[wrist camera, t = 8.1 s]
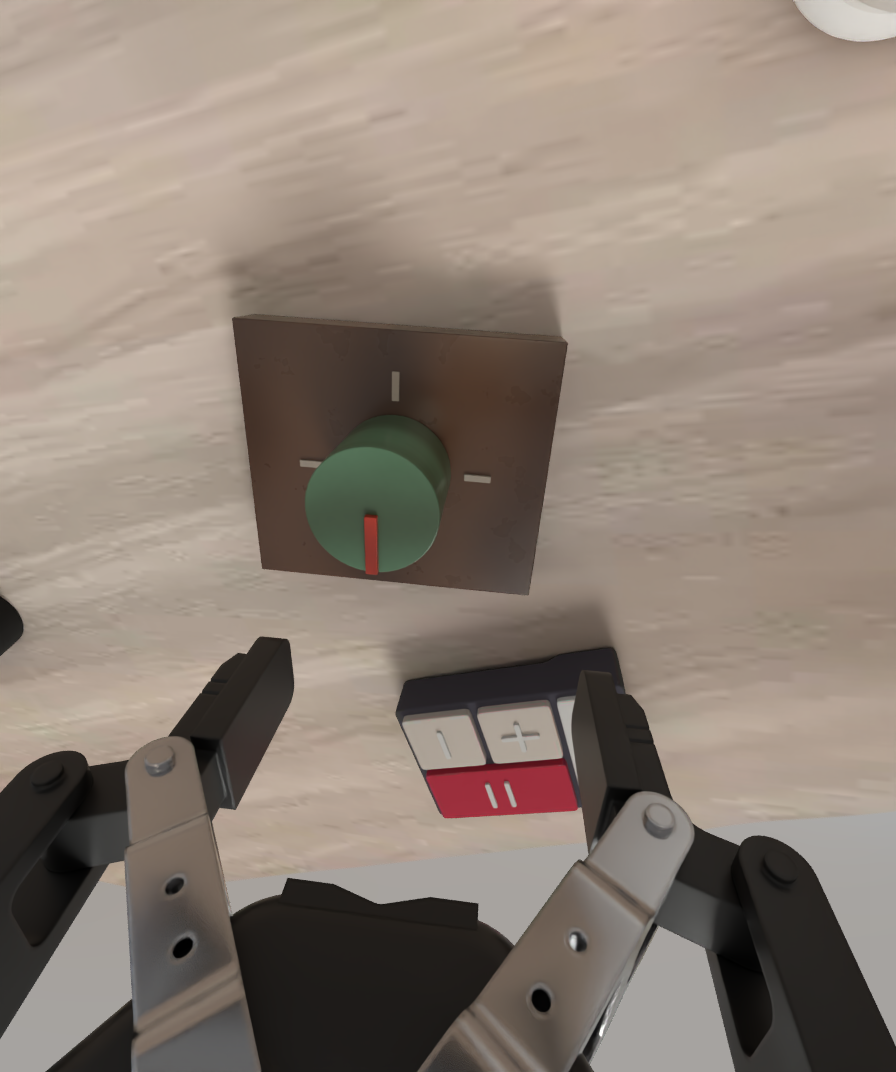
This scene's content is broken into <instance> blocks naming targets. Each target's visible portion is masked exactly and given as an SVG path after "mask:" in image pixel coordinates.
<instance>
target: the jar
mask: <svg viewBox="0 0 896 1072" xmlns="http://www.w3.org/2000/svg"><path fill="white" fill-rule="evenodd" d="M793 1H794V3H795V5H796V6H797V8H798V9H799V11H800V12H801V13H802V14H803V16H804V17H805V18H806V19H807V20H808V21H809V22H810V23H812V24H813V25H814V26H815V27H817V28H818V29H820V30H821V31H823V32H825V33H827V34H829V35H831V36H833V37H836V38H840V39H844V40H849V41H858V42H867V41H878V40H884V39H888V38H892V37H896V0H793Z"/></svg>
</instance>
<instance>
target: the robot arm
mask: <svg viewBox="0 0 896 1072" xmlns="http://www.w3.org/2000/svg"><path fill="white" fill-rule="evenodd" d="M293 691H294V676H293V667H292V658H291V649H290V643H289V641H288V640H287V639H281V638H271V637H259V638H258V639H257V640H256V641H255V643H254V644H253V646H252V647H251V648H250V650H249V651H248V653H247V654H242V653H237V654H236V655H235V656H233V657H232V658H230V659H229V660H228V661H226V662H225V663H223V664H222V665H221V666H220V667H219V669H218V670H217V671H216V673H215V674H214V676H213V677H212V678H211V681H210V682H208V684H207V685H206V686H205V688H204V689H203V690H202V694H201V693H200V694H199V696H198V697H197V698H196V700H195V701H194V702H193V704H192V705H191V706H190V708H189V709H188V710H187V712H186V713H185V714H184V716H183V717H182V718H181V720H180V721H179V722H178V724H177V725H176V726H175V728H174V729H173V730H172V732H171V733H170V734H169V736H168V737H164V738H160V739H157V740H154V741H152V742H150V743H148V744H146V745H145V746H143V747H141V748H140V749H139V750H138V751H136V752H135V753H134V755H133V756H132V757H131V758H130V759H129V760H126V761H121V762H114V763H108V764H101V765H95V766H88V763H87V760H86V758H85V757H84V755H82V754H81V753H79V752H76V751H60V752H56V753H52V754H49V755H46V756H44V757H42V758H39V759H38V760H36V761H34V762H32V763H31V764H29V765H28V766H26V767H25V768H24V769H23V770H21V771H20V772H19V773H18V774H17V775H16V776H15V778H14V779H13V780H12V781H11V782H10V783H9V784H8V785H7V786H6V787H5V788H4V789H3V791H2V792H1V793H0V1038H1V1037H2V1035H3V1033H4V1032H5V1030H6V1029H7V1027H8V1026H9V1024H10V1022H11V1021H12V1019H13V1018H14V1016H15V1014H16V1012H17V1011H18V1009H19V1008H20V1006H21V1005H22V1003H23V1001H24V1000H25V998H26V997H27V995H28V993H29V992H30V990H31V989H32V987H33V985H34V984H35V982H36V981H37V979H38V977H39V976H40V974H41V972H42V971H43V969H44V968H45V966H46V964H47V963H48V961H49V960H50V958H51V956H52V955H53V953H54V951H55V950H56V948H57V947H58V945H59V943H60V942H61V940H62V939H63V937H64V935H65V934H66V932H67V931H68V929H69V927H70V926H71V924H72V923H73V921H74V919H75V918H76V916H77V914H78V913H79V911H80V910H81V908H82V907H83V905H84V903H85V902H86V900H87V898H88V897H89V895H90V894H91V892H92V890H93V889H94V887H95V886H96V884H97V882H98V881H99V879H100V878H101V876H102V874H103V873H104V871H105V870H106V868H107V866H108V865H109V863H114V862H119V861H124V862H125V879H126V895H127V896H126V897H127V915H128V930H129V949H130V968H131V985H132V999H131V1000H130V1001H129V1002H127V1003H126V1004H125V1005H124V1006H123V1007H121V1008H120V1009H119V1010H118V1011H117V1012H116V1013H115V1014H113V1015H112V1016H111V1017H110V1018H109V1019H107V1020H106V1021H105V1022H104V1023H103V1024H101V1025H100V1026H99V1027H98V1028H97V1029H95V1030H94V1031H93V1032H92V1033H91V1034H90V1035H88V1036H87V1037H86V1038H85V1039H84V1040H82V1041H81V1042H80V1043H79V1044H78V1045H77V1046H75V1047H74V1048H73V1049H72V1050H71V1051H69V1052H68V1053H67V1054H66V1055H65V1056H63V1057H62V1058H61V1059H60V1060H59V1061H58V1062H56V1063H55V1064H54V1065H53V1066H52V1067H51V1068H49V1069H48V1070H47V1071H46V1072H594V1071H593V1070H592V1068H591V1066H590V1063H591V1061H592V1059H593V1058H594V1055H595V1054H596V1052H597V1050H598V1048H599V1046H600V1044H601V1042H602V1040H603V1038H604V1036H605V1034H606V1032H607V1030H608V1028H609V1025H610V1023H611V1021H612V1019H613V1017H614V1015H615V1013H616V1010H617V1008H618V1006H619V1004H620V1002H621V999H622V997H623V995H624V993H625V991H626V989H627V987H628V985H629V983H630V982H631V980H632V978H633V976H634V974H635V972H636V970H637V968H638V966H639V964H640V962H641V960H642V958H643V956H644V954H645V952H646V950H647V948H648V946H649V944H650V942H651V940H652V938H653V937H654V934H655V933H656V931H657V929H658V927H659V926H660V927H663V928H665V929H667V930H669V931H671V932H673V933H675V934H677V935H679V936H681V937H684V938H685V939H687V940H690V941H691V942H694V943H696V944H698V945H700V946H702V947H704V948H705V950H706V954H707V958H708V962H709V966H710V970H711V974H712V978H713V982H714V987H715V991H716V994H717V999H718V1003H719V1007H720V1011H721V1015H722V1019H723V1023H724V1027H725V1031H726V1035H727V1040H728V1044H729V1048H730V1052H731V1056H732V1059H733V1064H734V1068H735V1072H896V1046H895V1044H894V1042H893V1039H892V1037H891V1035H890V1033H889V1031H888V1029H887V1026H886V1024H885V1023H884V1020H883V1018H882V1016H881V1014H880V1011H879V1009H878V1007H877V1005H876V1003H875V1001H874V998H873V996H872V994H871V992H870V990H869V988H868V986H867V983H866V981H865V979H864V977H863V975H862V973H861V971H860V968H859V966H858V964H857V962H856V960H855V958H854V956H853V953H852V951H851V949H850V947H849V945H848V943H847V940H846V938H845V936H844V934H843V932H842V930H841V927H840V925H839V923H838V921H837V919H836V917H835V915H834V912H833V910H832V908H831V906H830V904H829V902H828V899H827V897H826V895H825V893H824V891H823V889H822V887H821V884H820V882H819V880H818V878H817V876H816V874H815V872H814V870H813V869H812V868H811V866H810V865H809V864H808V862H807V861H806V860H805V859H804V858H803V857H802V856H801V855H799V853H798V852H796V851H795V850H794V849H792V848H791V847H789V846H788V845H786V844H784V843H783V842H781V841H778V840H776V839H773V838H771V837H766V836H751V837H748V838H747V839H745V840H744V841H743V842H742V843H741V845H740V846H739V845H736V844H734V843H732V842H729V841H727V840H724V839H722V838H719V837H717V836H714V835H712V834H710V833H708V832H705V831H703V830H702V829H700V828H698V827H697V826H695V825H694V824H693V823H692V822H691V819H690V818H689V816H688V815H687V813H686V812H685V811H684V810H683V808H682V807H681V806H679V805H678V804H677V803H676V802H675V801H673V799H672V797H671V794H670V791H669V788H668V785H667V781H666V778H665V775H664V772H663V769H662V766H661V763H660V760H659V756H658V753H657V750H656V747H655V745H654V744H653V738H652V735H651V732H650V731H649V725H648V722H647V719H646V716H645V713H644V710H643V709H642V708H641V706H640V705H639V704H638V703H637V702H636V700H635V699H634V698H633V697H632V696H631V695H628V694H618V693H617V692H616V688H615V684H614V680H613V677H612V674H611V673H609V672H599V671H589V670H582V671H581V673H580V677H579V682H578V687H577V692H576V696H575V701H574V706H573V711H572V720H571V734H572V742H573V749H574V756H575V763H576V770H577V777H578V784H579V791H580V798H581V805H582V812H583V819H584V826H585V833H586V840H587V846H588V853H589V855H588V857H587V858H586V859H585V860H584V861H582V860H578V861H577V862H576V863H574V865H573V866H572V867H571V869H570V870H569V871H568V873H567V874H566V875H565V877H564V878H563V879H562V881H561V882H560V884H559V885H558V886H557V888H556V889H555V891H554V892H553V893H552V895H551V896H550V897H549V899H548V900H547V902H546V903H545V904H544V906H543V907H542V909H541V910H540V911H539V913H538V914H537V916H536V917H535V918H534V920H533V921H532V922H531V924H530V925H529V927H528V928H527V929H526V931H525V932H524V934H523V935H522V936H521V938H520V939H519V940H518V942H517V943H516V945H515V946H514V945H513V944H512V943H511V942H510V941H509V940H508V939H507V938H506V937H504V936H503V935H502V934H500V932H498V931H497V930H495V929H494V928H492V927H490V926H489V925H487V924H485V923H483V922H481V921H479V920H478V904H477V903H470V902H463V901H455V900H447V899H440V898H433V897H428V898H422V899H415V900H408V901H401V902H395V903H387V904H377V903H374V902H372V901H369V900H367V899H365V898H363V897H361V896H358V895H356V894H354V893H352V892H350V891H347V890H345V889H343V888H341V887H339V886H337V885H334V884H328V883H322V882H314V881H307V880H299V879H292V878H288V879H287V881H286V884H285V887H284V889H283V892H282V894H281V895H276V896H272V897H268V898H265V899H262V900H259V901H257V902H254V903H252V904H250V905H248V906H246V907H244V908H243V909H241V910H239V911H238V912H236V913H235V914H233V915H232V910H231V906H230V902H229V897H228V893H227V888H226V884H225V879H224V874H223V870H222V865H221V861H220V856H219V851H218V847H217V842H216V837H215V833H214V828H213V824H212V820H213V819H214V817H215V815H216V813H217V811H218V809H219V808H226V809H234V810H236V808H237V806H238V804H239V802H240V800H241V798H242V797H243V795H244V793H245V791H246V789H247V787H248V785H249V783H250V781H251V779H252V777H253V775H254V773H255V771H256V769H257V767H258V765H259V763H260V762H261V760H262V758H263V756H264V754H265V752H266V750H267V748H268V746H269V744H270V742H271V740H272V738H273V736H274V734H275V732H276V730H277V728H278V726H279V725H280V723H281V721H282V719H283V717H284V715H285V713H286V711H287V709H288V707H289V705H290V703H291V700H292V696H293Z"/></svg>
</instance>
